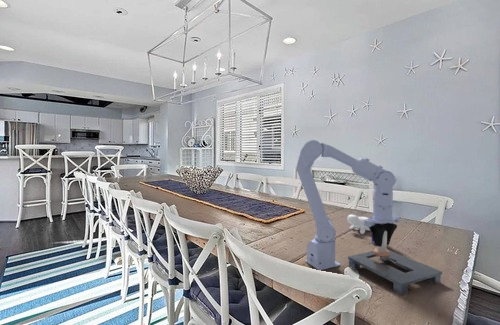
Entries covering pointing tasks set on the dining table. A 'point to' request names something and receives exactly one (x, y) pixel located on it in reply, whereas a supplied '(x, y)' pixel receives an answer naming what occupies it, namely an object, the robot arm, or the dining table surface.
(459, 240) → the dining table surface
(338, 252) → the dining table surface
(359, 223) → the white animal figurine
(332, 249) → the robot arm
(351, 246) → the dining table surface
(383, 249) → the keyhole peg
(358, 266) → the keyhole plate
